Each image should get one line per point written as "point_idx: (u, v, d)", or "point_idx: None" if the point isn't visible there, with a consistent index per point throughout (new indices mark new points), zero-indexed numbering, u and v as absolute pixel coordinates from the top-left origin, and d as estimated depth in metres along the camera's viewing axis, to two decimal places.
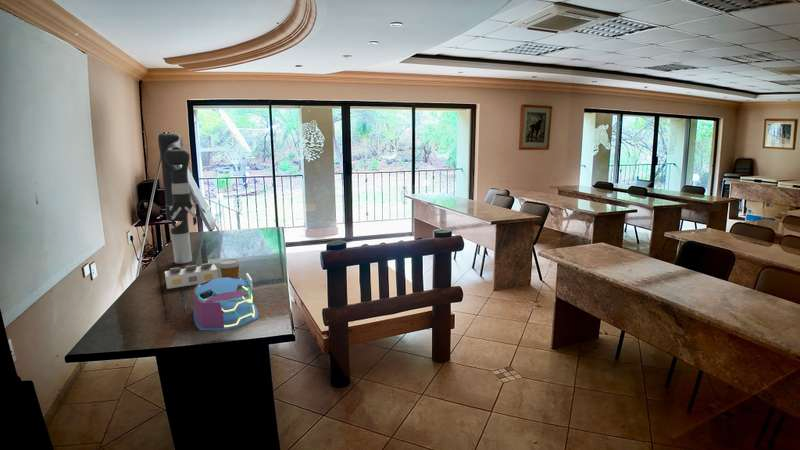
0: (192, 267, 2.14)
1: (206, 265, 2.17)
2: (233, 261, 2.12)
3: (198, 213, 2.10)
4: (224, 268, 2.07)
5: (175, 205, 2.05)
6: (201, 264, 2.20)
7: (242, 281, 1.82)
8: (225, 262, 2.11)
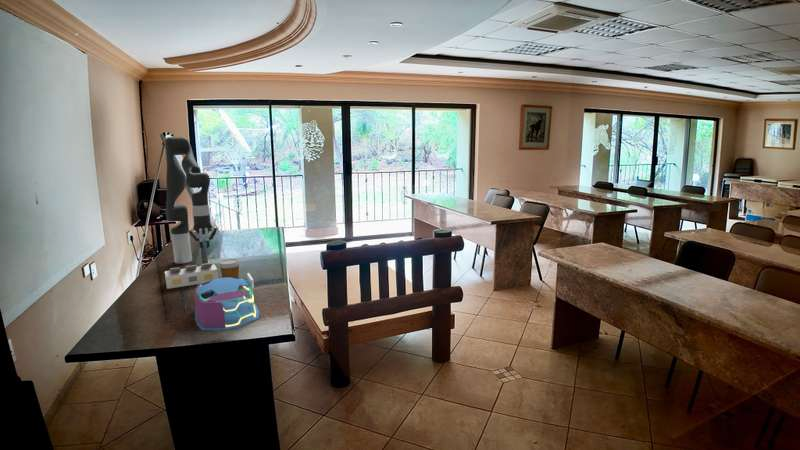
0: (192, 267, 2.14)
1: (206, 265, 2.17)
2: (233, 261, 2.12)
3: (211, 237, 2.15)
4: (224, 268, 2.07)
5: (195, 227, 2.11)
6: (201, 264, 2.20)
7: (243, 281, 1.82)
8: (225, 262, 2.11)
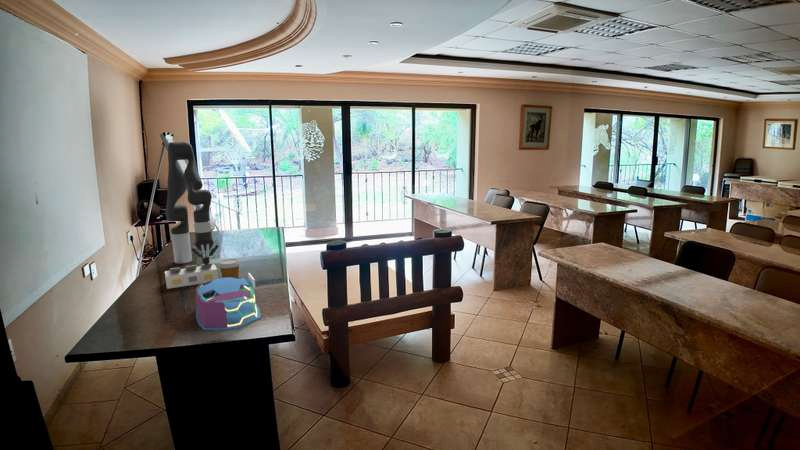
0: (192, 267, 2.14)
1: (206, 265, 2.17)
2: (233, 261, 2.12)
3: (211, 253, 2.17)
4: (224, 268, 2.07)
5: (196, 243, 2.13)
6: (201, 264, 2.20)
7: (244, 281, 1.82)
8: (225, 262, 2.11)
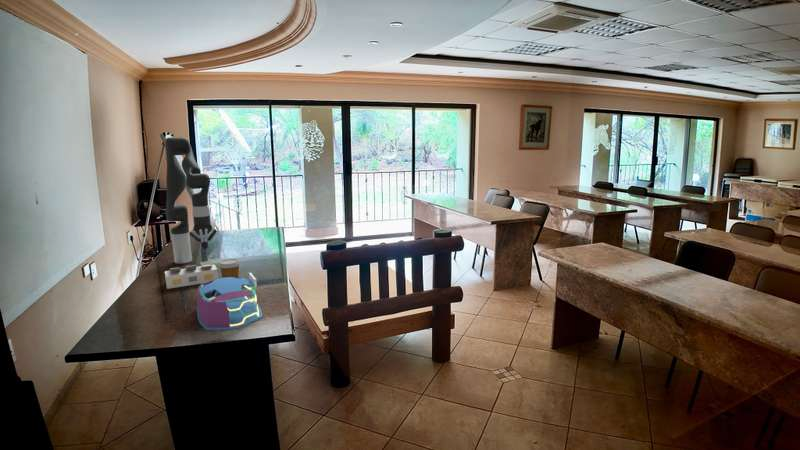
0: (192, 267, 2.14)
1: (206, 267, 2.17)
2: (233, 261, 2.12)
3: (209, 237, 2.15)
4: (224, 268, 2.07)
5: (195, 228, 2.11)
6: (201, 264, 2.20)
7: (245, 280, 1.82)
8: (225, 262, 2.11)
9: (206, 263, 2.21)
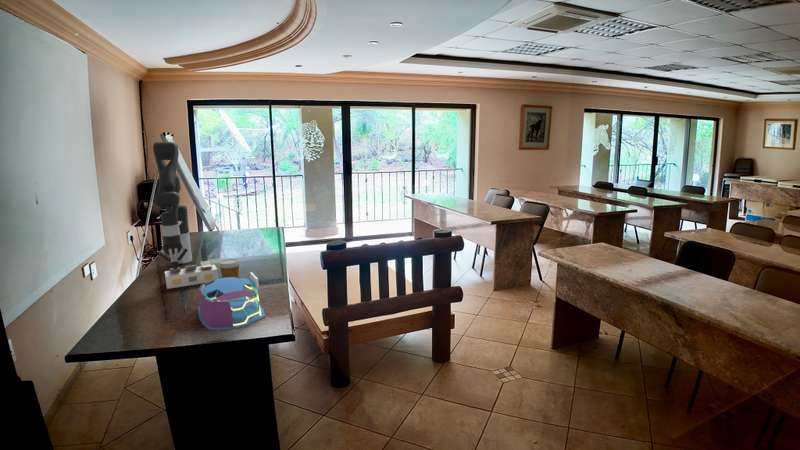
0: (192, 267, 2.14)
1: (206, 268, 2.17)
2: (233, 261, 2.12)
3: (180, 257, 2.10)
4: (224, 268, 2.07)
5: (164, 247, 2.06)
6: (201, 264, 2.20)
7: (247, 280, 1.83)
8: (225, 262, 2.11)
9: (206, 263, 2.21)
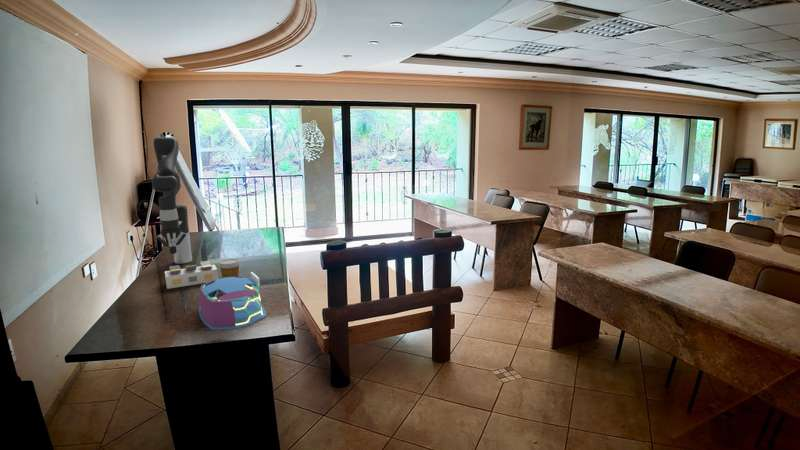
0: (192, 267, 2.14)
1: (206, 268, 2.17)
2: (233, 261, 2.12)
3: (178, 242, 2.08)
4: (224, 268, 2.07)
5: (162, 232, 2.04)
6: (201, 264, 2.20)
7: (248, 280, 1.83)
8: (225, 262, 2.11)
9: (206, 263, 2.21)
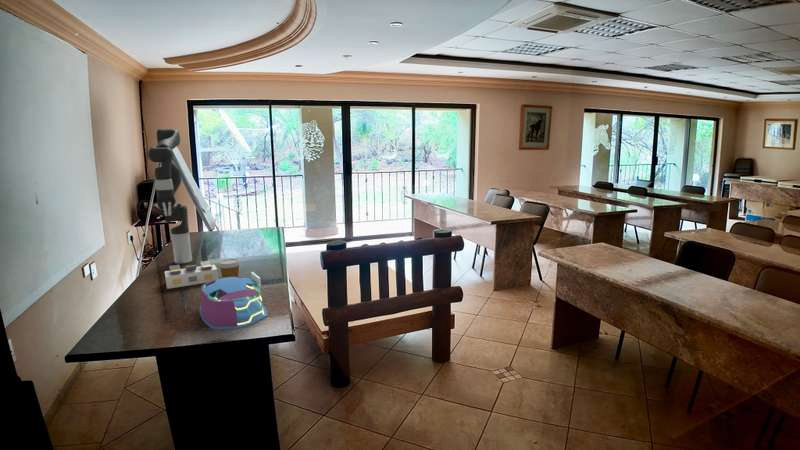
0: (192, 267, 2.14)
1: (206, 268, 2.17)
2: (233, 261, 2.12)
3: (173, 211, 2.18)
4: (224, 268, 2.07)
5: (158, 201, 2.14)
6: (201, 264, 2.20)
7: (249, 280, 1.83)
8: (225, 262, 2.11)
9: (206, 263, 2.21)
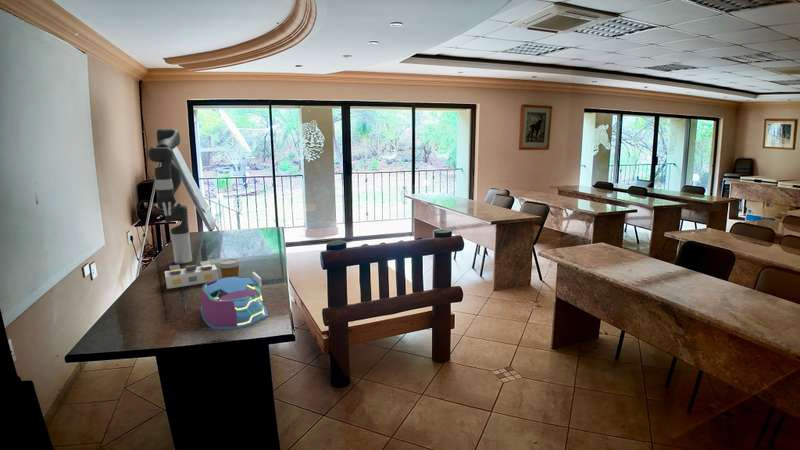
0: (192, 267, 2.14)
1: (206, 268, 2.17)
2: (233, 261, 2.12)
3: (173, 211, 2.18)
4: (224, 268, 2.07)
5: (158, 201, 2.14)
6: (201, 264, 2.20)
7: (250, 280, 1.83)
8: (225, 262, 2.11)
9: (206, 263, 2.21)
